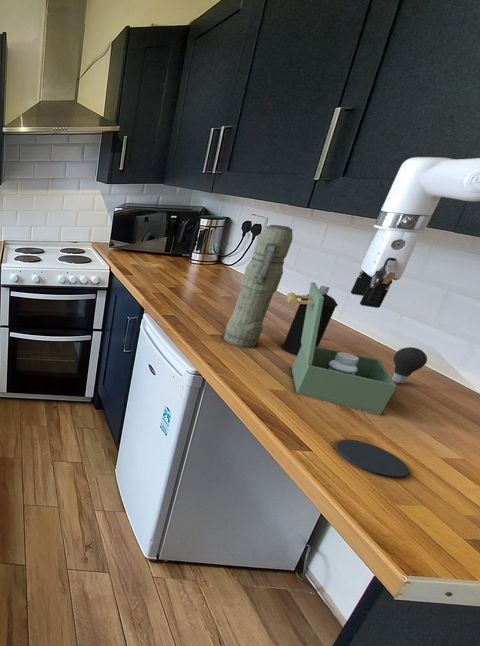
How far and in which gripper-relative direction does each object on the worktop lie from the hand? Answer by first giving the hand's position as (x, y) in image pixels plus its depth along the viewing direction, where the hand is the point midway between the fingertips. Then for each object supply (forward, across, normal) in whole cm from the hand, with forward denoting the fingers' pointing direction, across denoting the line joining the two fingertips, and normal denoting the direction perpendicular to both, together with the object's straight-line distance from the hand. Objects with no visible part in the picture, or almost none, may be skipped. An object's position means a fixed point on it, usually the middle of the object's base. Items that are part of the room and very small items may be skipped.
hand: (364, 300), depth 90 cm
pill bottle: (+23, 0, -2) cm, 23 cm away
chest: (+23, 0, -2) cm, 23 cm away
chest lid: (+7, +1, +7) cm, 10 cm away
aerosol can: (+23, +24, +3) cm, 33 cm away
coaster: (+23, -29, -4) cm, 37 cm away
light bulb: (+23, +15, -17) cm, 33 cm away
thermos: (+23, +20, +18) cm, 36 cm away
